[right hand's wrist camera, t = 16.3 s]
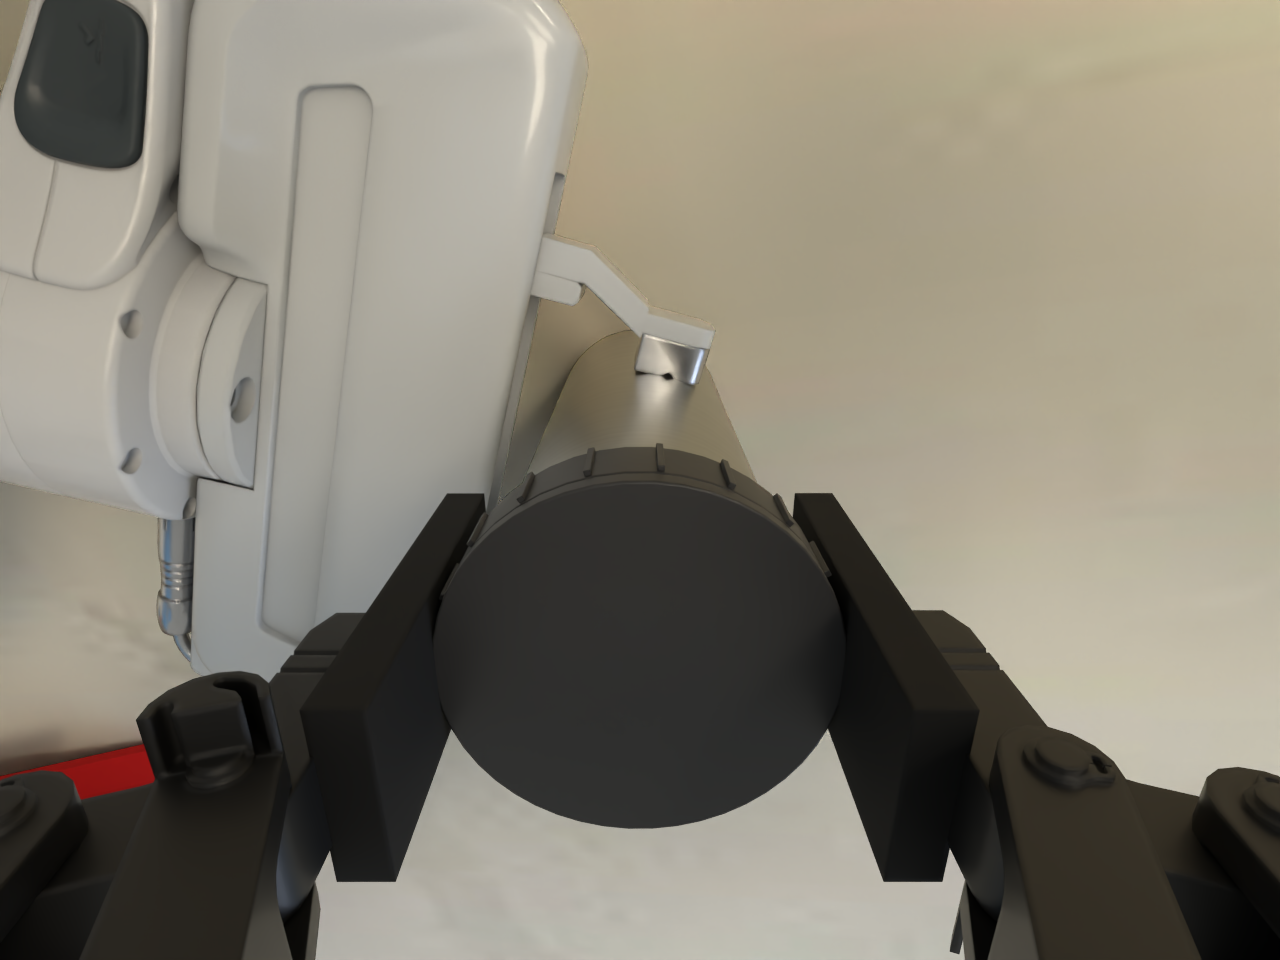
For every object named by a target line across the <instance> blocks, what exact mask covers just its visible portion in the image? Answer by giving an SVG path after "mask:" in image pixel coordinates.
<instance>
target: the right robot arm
mask: <svg viewBox="0 0 1280 960" xmlns="http://www.w3.org/2000/svg"><path fill="white" fill-rule="evenodd" d="M484 512H485V513H486V507H485V495H484V493H447V494H446V496H445V497H444V499H443V500H442V501H441V503H440V504H439V506H438V507H437V509H436V510H435V512H434V513H433V515H432V516H431V518H430V519H429V521H428V522H427V524H426V525H425V526H424V528H423V529H422V531H421V532H420V534H419V535H418V537H417V538H416V540H415V541H414V543H413V544H412V546H411V547H410V548H409V550H408V551H407V553H406V554H405V556H404V557H403V559H402V560H401V562H400V563H399V565H398V566H397V568H396V569H395V570H394V572H393V573H392V575H391V576H390V578H389V579H388V581H387V582H386V584H385V585H384V587H383V588H382V590H381V591H380V593H379V594H378V595H377V597H376V598H375V600H374V601H373V603H372V604H371V606H370V607H369V609H368V610H367V612H366V613H335V614H334V615H332V616H331V617H329V618H328V619H326V620H325V621H323V622H322V623H320V624H319V625H317V626H316V627H314V628H313V629H311V630H310V631H309V632H308V634H307V635H306V636H305V637H304V639H303V640H302V641H301V642H300V644H299V645H298V646H297V648H296V649H295V650H294V655H290V656H289V658H288V659H287V660H286V662H285V663H284V664H283V665H282V667H281V668H280V673H276V674H275V676H274V677H273V678H272V679H271V681H270V682H269V683H268V682H267V681H266V680H265V679H263V678H262V677H261V676H260V675H258V674H254V673H249V672H244V671H231V672H218V673H214V674H210V675H206V676H203V677H199V678H195V679H192V680H190V681H188V682H185V683H183V684H181V685H179V686H177V687H174V688H172V689H170V690H168V691H167V692H165V693H164V694H162V695H161V696H160V697H158V698H157V699H155V700H154V701H153V702H151V703H150V704H148V706H147V707H146V708H145V709H144V711H143V712H142V713H141V714H140V716H139V717H138V718H137V719H136V722H137V725H138V728H139V731H140V734H141V737H142V740H143V743H144V747H145V750H146V753H147V756H148V759H149V762H150V765H151V768H152V771H153V774H154V777H155V780H154V782H153V783H149V784H146V785H143V786H139V787H135V788H130V789H126V790H121V791H117V792H113V793H108V794H104V795H99V796H95V797H91V798H86V799H82V800H81V799H80V797H79V794H78V792H77V789H76V786H75V784H74V781H73V780H72V779H71V778H69V777H68V776H66V775H65V774H64V773H62V772H55V771H45V770H40V771H35V772H29V773H23V774H17V775H13V776H11V777H8V778H4V779H1V780H0V960H315V956H316V947H317V937H318V928H319V918H320V903H319V896H318V891H317V887H316V883H315V880H316V878H317V876H318V874H319V872H320V870H321V868H322V866H323V864H324V861H325V859H326V857H327V855H328V853H329V851H330V853H331V857H332V862H333V866H334V871H335V875H336V880H337V882H396V879H397V876H398V874H399V871H400V868H401V865H402V863H403V860H404V857H405V854H406V852H407V849H408V846H409V843H410V841H411V838H412V835H413V832H414V830H415V827H416V824H417V821H418V819H419V816H420V813H421V810H422V808H423V805H424V802H425V799H426V797H427V794H428V791H429V788H430V786H431V783H432V780H433V777H434V775H435V772H436V769H437V766H438V764H439V761H440V758H441V755H442V753H443V750H444V747H445V744H446V742H447V739H448V736H449V733H450V731H451V727H450V725H449V723H448V720H447V718H446V716H445V714H444V712H443V710H442V707H441V704H440V699H439V692H438V684H437V677H436V669H435V661H434V652H433V641H432V639H433V633H434V627H435V622H436V616H437V613H438V611H439V608H440V605H441V602H442V601H441V600H439V597H440V594H441V592H442V590H443V588H444V586H445V584H446V582H447V581H448V579H449V577H450V575H451V573H452V571H453V569H454V567H455V565H456V563H458V564H460V562H461V560H462V558H463V556H464V554H465V552H466V550H467V548H468V547H469V546H468V545H467V542H468V540H469V538H470V536H471V535H472V533H473V531H474V529H475V527H476V525H477V523H478V521H479V519H480V517H481V516H482V514H483V513H484ZM793 519H794V520H795V521H796V523H797V524H798V525H799V527H800V528H801V530H802V532H803V533H804V535H805V537H806V539H807V541H808V542H811V541H814V542H815V544H816V546H817V548H818V550H819V552H820V554H821V556H822V558H823V559H824V561H825V563H826V565H827V567H828V569H829V571H830V573H831V576H829V577H827V579H828V581H829V583H830V585H831V587H832V589H833V591H834V593H835V596H836V599H837V601H838V604H839V607H840V610H841V612H842V616H843V621H844V626H845V631H846V636H847V643H846V653H845V661H844V669H843V677H842V685H841V692H840V699H839V705H838V707H837V710H836V712H835V714H834V716H833V718H832V721H831V723H830V725H829V727H828V730H829V732H830V735H831V738H832V741H833V744H834V746H835V749H836V752H837V755H838V757H839V760H840V763H841V766H842V768H843V771H844V774H845V777H846V779H847V782H848V785H849V788H850V790H851V793H852V796H853V799H854V801H855V804H856V807H857V810H858V812H859V815H860V818H861V821H862V823H863V826H864V829H865V832H866V834H867V837H868V840H869V843H870V845H871V848H872V851H873V854H874V856H875V859H876V862H877V865H878V867H879V870H880V873H881V876H882V878H883V881H884V882H942V881H943V877H944V872H945V867H946V863H947V858H948V854H949V849H951V851H952V853H953V855H954V857H955V859H956V861H957V864H958V866H959V868H960V870H961V872H962V874H963V876H964V878H965V883H964V887H963V891H962V895H961V900H960V904H959V908H958V913H957V917H956V921H955V925H954V930H953V934H952V939H951V946H950V952H953V953H957V954H959V953H960V949H961V945H962V941H963V945H964V954H965V960H1280V777H1279V776H1277V775H1273V774H1270V773H1267V772H1264V771H1258V770H1252V769H1247V768H1241V767H1234V768H1223V769H1217V770H1216V771H1215V772H1213V773H1212V774H1211V775H1209V776H1208V777H1207V778H1206V781H1205V784H1204V786H1203V789H1202V791H1201V794H1200V797H1198V796H1194V795H1190V794H1185V793H1181V792H1176V791H1172V790H1167V789H1163V788H1158V787H1154V786H1150V785H1145V784H1141V783H1137V782H1134V781H1130V780H1127V779H1125V777H1124V776H1123V774H1122V773H1121V771H1120V770H1119V768H1118V767H1117V766H1116V764H1115V763H1114V761H1113V760H1111V759H1110V758H1109V757H1108V756H1106V755H1105V754H1104V753H1103V752H1101V751H1100V750H1099V749H1098V748H1097V747H1095V746H1094V745H1092V744H1090V743H1088V742H1086V741H1084V740H1082V739H1080V738H1078V737H1076V736H1074V735H1072V734H1070V733H1066V732H1063V731H1060V730H1056V729H1053V728H1050V727H1047V725H1046V724H1045V723H1044V722H1043V720H1042V719H1041V718H1040V716H1039V715H1038V714H1037V713H1036V711H1035V710H1034V709H1033V708H1032V706H1031V705H1030V704H1029V703H1028V701H1027V700H1026V699H1025V697H1024V696H1023V695H1022V694H1021V692H1020V691H1019V690H1018V689H1017V687H1016V686H1015V685H1014V684H1013V682H1012V681H1011V680H1010V679H1009V677H1008V676H1007V675H1006V673H1005V672H1004V671H1003V670H1000V668H999V665H998V663H997V662H996V661H995V660H994V658H993V657H992V656H991V654H990V653H986V648H985V647H984V646H983V644H982V643H981V642H980V641H979V639H978V638H977V637H976V635H975V634H974V633H973V632H972V630H971V629H970V628H969V627H967V626H966V625H964V624H963V623H961V622H960V621H958V620H957V619H955V618H954V617H952V616H951V615H949V614H948V613H946V612H945V611H943V610H911V608H910V607H909V605H908V604H907V602H906V601H905V600H904V598H903V597H902V595H901V594H900V592H899V591H898V589H897V588H896V586H895V585H894V583H893V582H892V580H891V579H890V578H889V576H888V575H887V573H886V572H885V570H884V569H883V567H882V566H881V564H880V563H879V561H878V560H877V558H876V557H875V555H874V554H873V553H872V551H871V550H870V548H869V547H868V545H867V544H866V542H865V541H864V539H863V538H862V536H861V535H860V533H859V532H858V531H857V529H856V528H855V526H854V525H853V523H852V522H851V520H850V519H849V517H848V516H847V514H846V513H845V511H844V510H843V508H842V507H841V506H840V504H839V503H838V501H837V500H836V498H835V497H834V495H833V494H832V493H795V498H794V510H793Z"/></svg>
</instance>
